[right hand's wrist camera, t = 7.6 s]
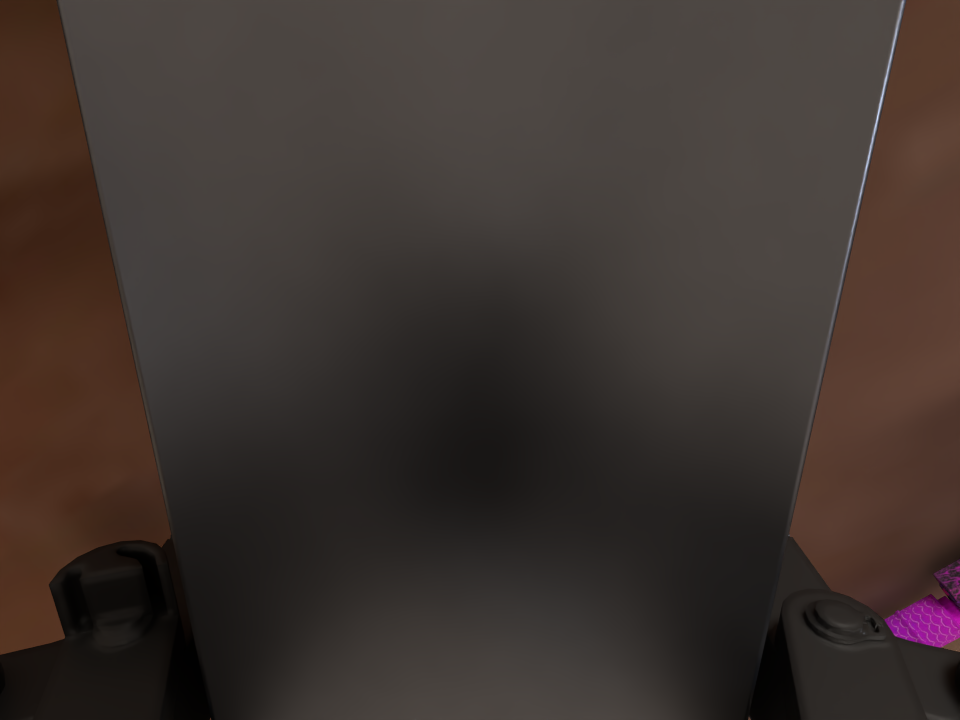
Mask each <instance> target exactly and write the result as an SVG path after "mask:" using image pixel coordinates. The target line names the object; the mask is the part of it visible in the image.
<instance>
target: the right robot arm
mask: <svg viewBox="0 0 960 720" xmlns="http://www.w3.org/2000/svg"><path fill="white" fill-rule="evenodd" d="M49 587H50V590H51V593H52V596H53V599H54V602H55V606H56V609H57V612H58V615H59V618H60V621H61V625H62V628H63V631H64V634H65V639H63V640H59V641H56V642H53V643H49V644H45V645H41V646H36V647H32V648H28V649H24V650H19V651H15V652H11V653H6V654H2V655H0V720H210V717H211V716H210V711H209V706H208V702H207V697H206V693H205V688H204V683H203V679H202V674H201V669H200V665H199V660H198V655H197V651H196V646H195V641H194V637H193V632H192V627H191V623H190V618H189V614H188V609H187V604H186V600H185V595H184V590H183V586H182V581H181V576H180V572H179V567H178V562H177V558H176V553H175V548H174V544H173V539H172V535H171V538H170V539H168V540H167V541H166V542H165V544H164V545H163V547H162V548H161V547H160V546H159V545H157V544H155V543H151V542H146V541H142V540H136V541H120V542H117V543H113V544H109V545H105V546H102V547H98V548H96V549H94V550H92V551H90V552H88V553H85V554H83V555H81V556H79V557H77V558H76V559H74V560H73V561H72V562H70V563H69V564H68V565H66V566H65V567H63V568H62V569H61V570H60V571H59V572H58V573H57V575H56V576H55V577H54V578H53V580H52V581H51V582H50V584H49ZM749 715H750V717H751V720H960V652H957V651H952V650H948V649H944V648H939V647H935V646H931V645H926V644H922V643H918V642H913V641H909V640H906V639H903V638H899V637H896V636H895V635H894V634H893V632H892V631H891V629H890V628H889V626H888V625H887V623H886V622H885V620H883V619H882V618H881V617H880V616H879V615H878V614H876V613H875V612H874V611H873V610H872V609H870V608H869V607H868V606H866V605H864V604H862V603H860V602H858V601H856V600H854V599H853V598H851V597H849V596H846V595H843V594H839V593H836V592H833V591H831V590H830V588H829V587H828V586H827V584H826V583H825V581H824V580H823V579H822V577H821V576H820V575H819V573H818V572H817V570H816V569H815V568H814V566H813V565H812V564H811V562H810V561H809V559H808V558H807V557H806V555H805V554H804V553H803V551H802V550H801V548H800V547H799V546H798V544H797V543H796V542H795V540H794V539H793V537H790V536H788V540H787V545H786V549H785V554H784V558H783V563H782V567H781V572H780V576H779V581H778V586H777V590H776V595H775V599H774V604H773V608H772V613H771V617H770V622H769V626H768V631H767V636H766V640H765V645H764V649H763V654H762V658H761V663H760V667H759V672H758V676H757V681H756V686H755V690H754V695H753V699H752V704H751V708H750V713H749Z"/></svg>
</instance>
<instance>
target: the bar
mask: <svg viewBox="0 0 960 720" xmlns="http://www.w3.org/2000/svg"><path fill="white" fill-rule="evenodd" d="M905 4H906V0H57V5H58V9H59V14H60V19H61V23H62V28H63V33H64V37H65V42H66V47H67V51H68V56H69V61H70V65H71V70H72V74H73V79H74V84H75V88H76V93H77V98H78V102H79V107H80V112H81V116H82V121H83V126H84V130H85V135H86V140H87V144H88V149H89V153H90V158H91V163H92V167H93V172H94V177H95V181H96V186H97V191H98V195H99V200H100V205H101V209H102V214H103V219H104V223H105V228H106V232H107V237H108V242H109V246H110V251H111V256H112V260H113V265H114V270H115V274H116V279H117V284H118V288H119V293H120V298H121V302H122V307H123V311H124V316H125V321H126V325H127V330H128V335H129V339H130V344H131V349H132V353H133V358H134V363H135V367H136V372H137V377H138V381H139V386H140V390H141V395H142V400H143V404H144V409H145V414H146V418H147V423H148V428H149V432H150V437H151V442H152V446H153V451H154V456H155V460H156V465H157V469H158V474H159V479H160V483H161V488H162V493H163V497H164V502H165V507H166V511H167V516H168V521H169V525H170V530H171V535H172V539H173V544H174V548H175V553H176V558H177V562H178V567H179V572H180V576H181V581H182V586H183V590H184V595H185V600H186V604H187V609H188V614H189V618H190V623H191V627H192V632H193V637H194V641H195V646H196V651H197V655H198V660H199V665H200V669H201V674H202V679H203V683H204V688H205V693H206V697H207V702H208V706H209V711H210V716H211V720H748V717H749V713H750V708H751V704H752V699H753V695H754V690H755V686H756V681H757V676H758V672H759V667H760V663H761V658H762V654H763V649H764V645H765V640H766V636H767V631H768V626H769V622H770V617H771V613H772V608H773V604H774V599H775V595H776V590H777V586H778V581H779V576H780V572H781V567H782V563H783V558H784V554H785V549H786V545H787V540H788V536H789V531H790V526H791V522H792V517H793V513H794V508H795V504H796V499H797V495H798V490H799V485H800V481H801V476H802V472H803V467H804V463H805V458H806V454H807V449H808V445H809V440H810V435H811V431H812V426H813V422H814V417H815V413H816V408H817V404H818V399H819V395H820V390H821V385H822V381H823V376H824V372H825V367H826V363H827V358H828V354H829V349H830V345H831V340H832V335H833V331H834V326H835V322H836V317H837V313H838V308H839V304H840V299H841V295H842V290H843V285H844V281H845V276H846V272H847V267H848V263H849V258H850V254H851V249H852V245H853V240H854V235H855V231H856V226H857V222H858V217H859V213H860V208H861V204H862V199H863V195H864V190H865V185H866V181H867V176H868V172H869V167H870V163H871V158H872V154H873V149H874V145H875V140H876V135H877V131H878V126H879V122H880V117H881V113H882V108H883V104H884V99H885V95H886V90H887V85H888V81H889V76H890V72H891V67H892V63H893V58H894V54H895V49H896V45H897V40H898V35H899V31H900V26H901V22H902V17H903V13H904V8H905Z"/></svg>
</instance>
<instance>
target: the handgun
mask: <svg viewBox="0 0 960 720" xmlns="http://www.w3.org/2000/svg"><path fill="white" fill-rule="evenodd" d="M933 575H934V576H935V578H936V579H937V581H938V582H939V583H940V587H941V588H942V590H943V591H944V592H945V594H946V595H947V596H948V598H949V599H950V600H949V599H948V598H947V597H946V596H944V597H942V598H940V599H938V600H937V599H936V598H935V597H934V596H933V595H931V594H930V595H929V596H927V597H925V598H923V599H921V600H919V601H917V602H916V603H914V604H912V605H910V606H908V607H906V608H905V609H903V610H901V611H899V610H898V611H896V612H895V613H894V615H892V616H890V617H888V618H886V619H885V622H886V623H887V625H888V626H889V628H890V629H891V631H892V632H893V634H894V635H895V636H896V637H899V638H903V639H906V640H909V641H913V642H918V643H922V644H926V645H931V646H935V647H939V648H941V647H942V646H944V645H946V644H948V643H950V642H952V641H954V640H956V639H958V638H960V626H959V625H960V559H959V560H957V561H955V562H954V563H952V564H950V565H948V566H946V567H945V568H943V569H941V570H939V571H937V572H936V573H934V574H933ZM749 717H750V715H749ZM750 719H751V717H750Z"/></svg>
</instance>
